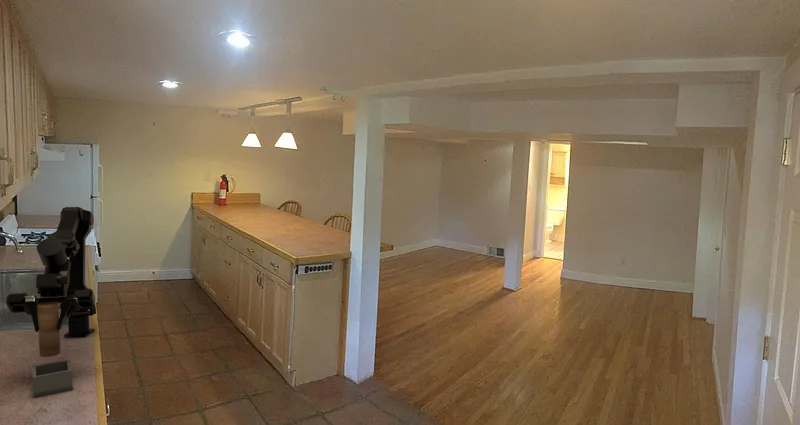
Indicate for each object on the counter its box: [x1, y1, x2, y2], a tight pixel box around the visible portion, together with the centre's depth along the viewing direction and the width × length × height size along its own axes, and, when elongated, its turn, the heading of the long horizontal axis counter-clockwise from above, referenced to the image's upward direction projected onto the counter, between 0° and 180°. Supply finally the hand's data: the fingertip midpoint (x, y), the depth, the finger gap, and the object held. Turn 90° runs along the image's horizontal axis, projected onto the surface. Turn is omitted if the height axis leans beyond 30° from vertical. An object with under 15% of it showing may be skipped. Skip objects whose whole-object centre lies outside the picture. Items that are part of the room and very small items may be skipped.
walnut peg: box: [37, 301, 62, 358], centre depth 132 cm, size 4×4×13 cm
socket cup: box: [31, 359, 74, 398], centre depth 130 cm, size 8×8×5 cm
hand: (47, 330), depth 131 cm, fingers closed on walnut peg, 4 cm apart
